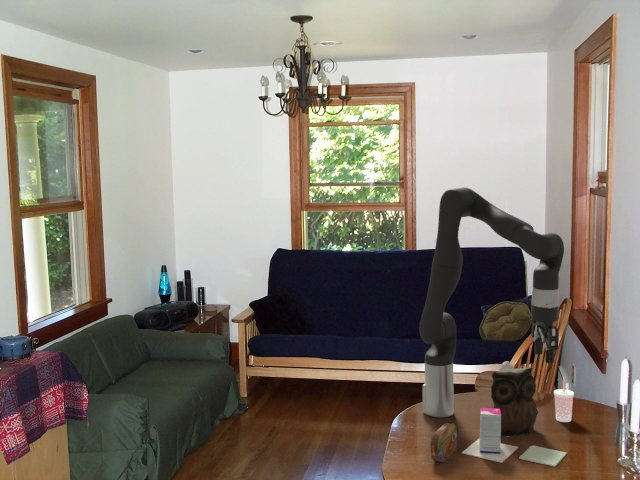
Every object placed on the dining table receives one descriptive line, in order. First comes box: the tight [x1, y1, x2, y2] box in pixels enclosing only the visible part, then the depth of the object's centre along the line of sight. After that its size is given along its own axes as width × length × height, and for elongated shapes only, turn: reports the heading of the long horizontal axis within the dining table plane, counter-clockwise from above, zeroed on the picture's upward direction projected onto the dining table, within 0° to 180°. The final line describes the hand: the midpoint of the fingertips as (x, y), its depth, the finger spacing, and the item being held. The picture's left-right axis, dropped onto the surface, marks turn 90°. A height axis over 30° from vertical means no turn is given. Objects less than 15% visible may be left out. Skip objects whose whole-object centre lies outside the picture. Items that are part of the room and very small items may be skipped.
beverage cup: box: [553, 376, 575, 423], centre depth 232 cm, size 6×6×14 cm
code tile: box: [461, 438, 519, 463], centre depth 210 cm, size 12×12×1 cm
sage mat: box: [518, 445, 568, 468], centre depth 205 cm, size 10×10×1 cm
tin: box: [430, 422, 459, 463], centre depth 207 cm, size 15×3×8 cm, turn 148°
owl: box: [490, 366, 539, 438], centre depth 223 cm, size 13×13×20 cm
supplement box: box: [479, 407, 502, 454], centre depth 210 cm, size 6×6×12 cm
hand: (543, 358), depth 211 cm, fingers open, 8 cm apart
